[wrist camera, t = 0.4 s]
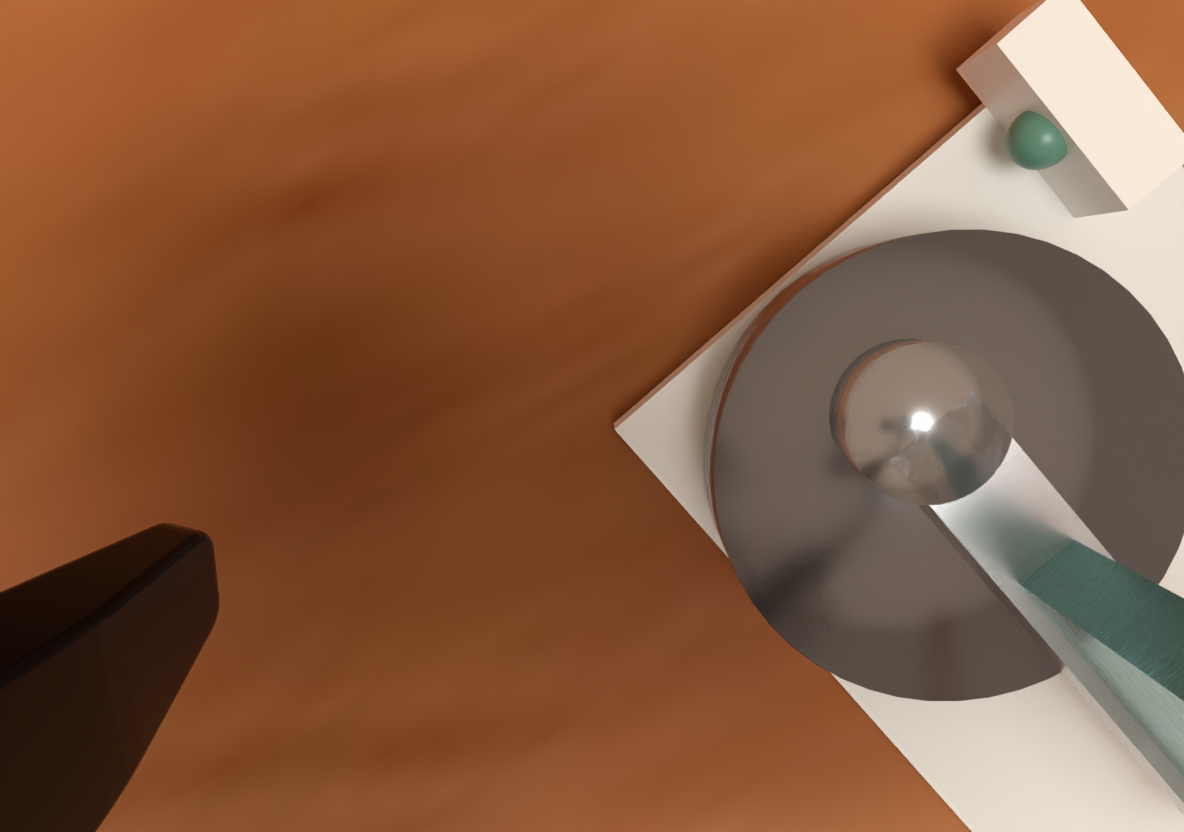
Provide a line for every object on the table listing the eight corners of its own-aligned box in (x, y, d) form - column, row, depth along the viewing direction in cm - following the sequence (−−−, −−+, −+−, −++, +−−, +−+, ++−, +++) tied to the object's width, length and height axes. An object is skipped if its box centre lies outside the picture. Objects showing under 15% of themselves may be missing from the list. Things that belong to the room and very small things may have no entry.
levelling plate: (584, 390, 21) (581, 406, 18) (1022, 5, 20) (1097, -45, 17) (1045, 908, 23) (1112, 1002, 20) (1477, 583, 21) (1619, 632, 18)
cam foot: (614, 435, 19) (623, 559, 10) (954, 140, 18) (1278, 3, 10) (1061, 937, 21) (1401, 1420, 12) (1396, 686, 20) (2035, 1008, 11)
